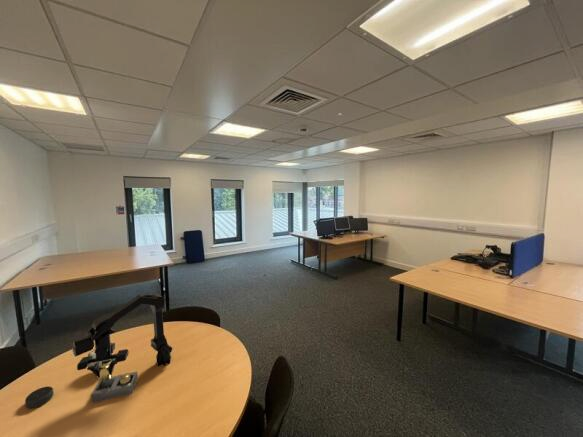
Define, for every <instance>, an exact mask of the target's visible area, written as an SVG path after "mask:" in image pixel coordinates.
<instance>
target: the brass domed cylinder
mask: <svg viewBox="0 0 583 437" xmlns="http://www.w3.org/2000/svg"><path fill="white" fill-rule="evenodd" d="M109 364H110V363H107V364H104V365H102V366H101V367H99V380H100V382H105V381H108V380H109V379H110V378H111V377H112V375H110V368H109Z"/></svg>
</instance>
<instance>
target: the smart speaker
mask: <svg viewBox="0 0 583 437" xmlns="http://www.w3.org/2000/svg"><path fill="white" fill-rule="evenodd" d="M53 396H54V388H53V387H52V386H43V387H40V388H37V389H35V390H34V391H32V392H31V393H29V394H28V395H27V396H26V398H25V400H24V404H25V407H26V408H28V409H34V408H37V407H40V406H42V405H44V404H46V403H47V402H49V401H50V400H51V399H52V398H53Z"/></svg>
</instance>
